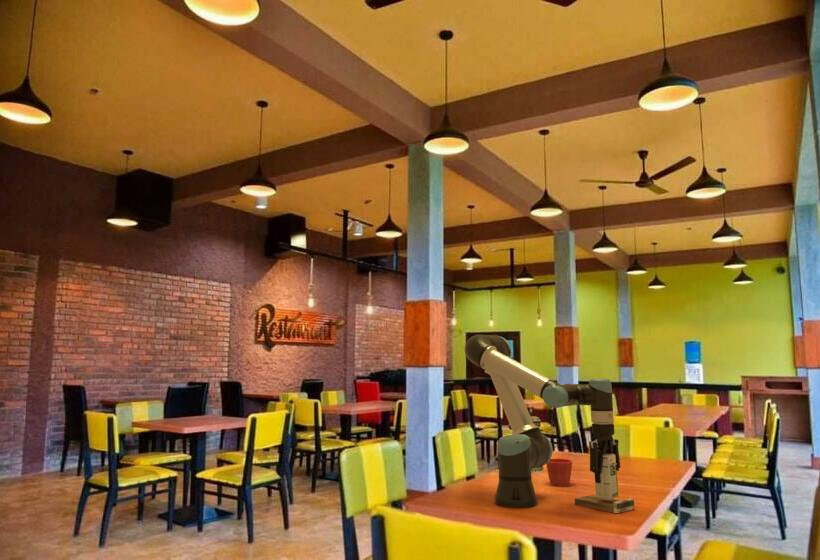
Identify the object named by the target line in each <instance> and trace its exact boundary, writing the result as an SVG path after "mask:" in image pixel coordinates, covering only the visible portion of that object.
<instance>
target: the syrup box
mask: <svg viewBox="0 0 820 560" xmlns="http://www.w3.org/2000/svg"><path fill="white" fill-rule="evenodd" d="M601 473H603V480H604V493H598V492H596V491H595V495H596V497H598V498H603V499H611V500H612V499H616V498H618V497H619V483H618V474H617V473H618V471H617V470H616V456H615V454H608V453H605V454H604V455H603V464H602V471H601ZM594 483H595V484H594V486H595V487H594V488H596V482H595V481H594Z"/></svg>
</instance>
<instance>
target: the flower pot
mask: <svg viewBox="0 0 820 560" xmlns="http://www.w3.org/2000/svg"><path fill="white" fill-rule="evenodd" d="M545 465H546V469H547V476H548V479H549V484H550V485H551V484H552V486H555V485H557V487H567V485H568V486H570V482H571V475H572V468H573V461H572V460H571V459H568V458H566V459H565V458H551V459H550V461H549V462H548V463H546V464H545Z"/></svg>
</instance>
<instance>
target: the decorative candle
mask: <svg viewBox="0 0 820 560" xmlns="http://www.w3.org/2000/svg"><path fill="white" fill-rule="evenodd" d="M530 417H531V419H532V422H533V424H534V425H536V426H538V427H539V428H540V431H541V433H542V435H544V434H543V430H544V429H542V425H541V419H540V417H538V416H536V415H534V416H532V415H530ZM543 473H544V465H543V466H541V467H538V468H533V469H531V474H543Z"/></svg>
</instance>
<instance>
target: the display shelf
mask: <svg viewBox="0 0 820 560" xmlns="http://www.w3.org/2000/svg"><path fill="white" fill-rule="evenodd" d="M574 505H576V506H581V507H584V508H589V509H593V508H594V509H593V510H597V509H599V510H598V511H602V510H603V511H602V512H606V511H607V513H611V512H612V513H611V514H615V513H618V514H621V513H620V512H622V513H625V512H624V511H626V512H630V511H633V510H632V509H634V510H635V508H636V507H635V498H633V497H631V498H630V497H629V498H626V499H616V498H614V499H612V500H611V499H603V498H598V497H596V494H590V495H585V496H580V497H575V498H574ZM629 510H630V511H629Z"/></svg>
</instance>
